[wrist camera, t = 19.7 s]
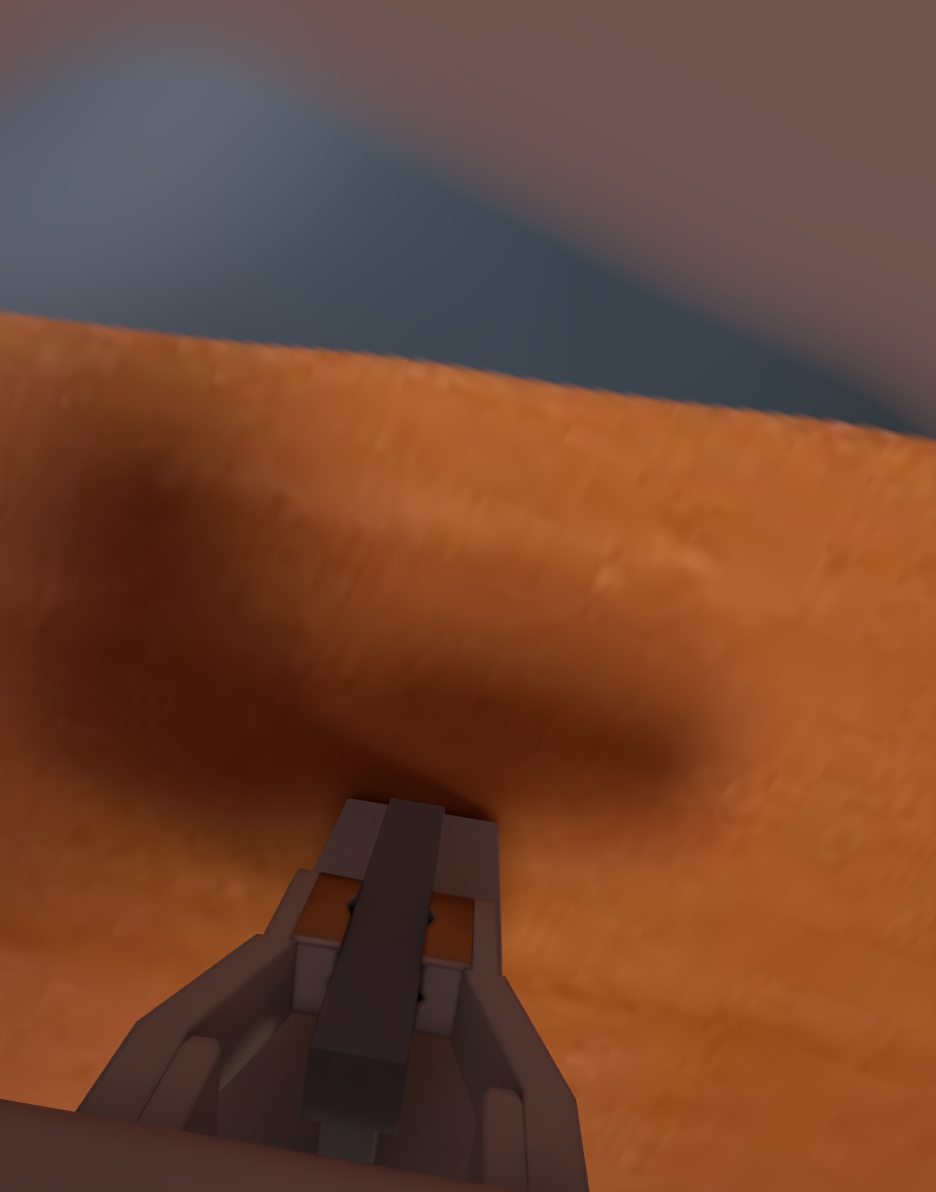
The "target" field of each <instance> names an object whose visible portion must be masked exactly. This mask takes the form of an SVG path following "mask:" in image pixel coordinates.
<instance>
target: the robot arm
mask: <svg viewBox="0 0 936 1192" xmlns="http://www.w3.org/2000/svg"><path fill="white" fill-rule="evenodd" d="M363 882H364V881H363V880H359V879H354V878H349V877H343V876H338V875H333V874H328V873H323V872H322V873H321V872H316V871H311V870H306V869H301V868H300V869H299V870H298V872H297V873H296V874H295V875H294V877H293V879H292V881H291V883H290V885H289V887H288V889H287V891H286V893H285V894H284V896H283V898H282V900H281V902H280V904H279V906H278V908H277V910H276V912H275V914H274V915H273V917H272V919H271V921H270V923H269V925H268V927H267V929H266V931H265V933H264V935H261V934H256V935H255V936H253V937H252V938H250V939H249V940H248V941H246V942H245V943H244V944H242V945H241V946H239V947H238V948H237V949H235V950H234V951H233V952H231V953H230V954H229V955H227V956H226V957H224V958H223V959H222V960H220V961H219V962H218V963H216V964H215V965H214V966H212V967H211V968H209V969H208V970H207V971H205V972H204V973H203V974H201V975H200V976H198V977H197V978H196V979H194V980H193V981H192V982H190V983H189V984H188V985H186V986H185V987H183V988H182V989H181V990H179V991H178V992H177V993H175V994H174V995H173V996H171V997H170V998H168V999H167V1000H166V1001H164V1002H163V1003H162V1004H160V1005H159V1006H158V1007H156V1008H155V1009H153V1010H152V1011H151V1012H149V1013H148V1014H147V1015H145V1016H144V1017H142V1018H141V1019H140V1020H138V1021H137V1022H136V1023H135V1025H134V1026H133V1028H132V1029H131V1031H130V1032H129V1033H128V1035H127V1036H126V1038H125V1039H124V1041H123V1042H122V1044H121V1045H120V1047H119V1048H118V1050H117V1051H116V1053H115V1054H114V1056H113V1057H112V1058H111V1060H110V1061H109V1063H108V1064H107V1066H106V1067H105V1069H104V1070H103V1072H102V1073H101V1075H100V1076H99V1078H98V1079H97V1080H96V1082H95V1083H94V1085H93V1086H92V1088H91V1089H90V1091H89V1092H88V1094H87V1095H86V1097H85V1098H84V1100H83V1101H82V1102H81V1104H80V1105H79V1107H78V1108H77V1110H76V1111H75V1112H73V1111H67V1110H62V1109H56V1108H50V1107H45V1106H39V1105H33V1104H28V1103H22V1102H16V1101H11V1100H5V1099H0V1192H589V1186H588V1179H587V1172H586V1166H585V1159H584V1152H583V1145H582V1138H581V1131H580V1124H579V1117H578V1110H577V1103H576V1099H575V1097H574V1095H573V1093H572V1092H571V1090H570V1088H569V1086H568V1085H567V1083H566V1081H565V1080H564V1078H563V1076H562V1074H561V1073H560V1071H559V1069H558V1067H557V1066H556V1064H555V1062H554V1060H553V1059H552V1057H551V1055H550V1053H549V1052H548V1050H547V1048H546V1046H545V1045H544V1043H543V1041H542V1039H541V1038H540V1036H539V1034H538V1033H537V1031H536V1029H535V1027H534V1026H533V1024H532V1022H531V1020H530V1019H529V1017H528V1015H527V1013H526V1012H525V1010H524V1008H523V1006H522V1005H521V1003H520V1001H519V999H518V998H517V996H516V994H515V992H514V991H513V989H512V987H511V985H510V984H509V982H508V980H507V979H506V977H505V976H502V975H498V934H497V905H496V902H495V901H490V900H484V899H477V898H474V899H473V898H472V897H465V896H459V895H452V894H446V893H439V892H433V891H432V892H431V898H430V904H429V911H428V918H429V923H428V926H427V927H426V932H425V938H424V945H423V952H422V959H421V966H420V970H421V978H420V985H419V992H418V999H417V1006H416V1013H415V1020H414V1026H413V1032H415V1033H419V1034H424V1035H429V1036H434V1037H439V1038H443V1039H448V1040H451V1045H452V1048H453V1051H454V1054H455V1057H456V1060H457V1063H458V1066H459V1068H460V1071H461V1074H462V1077H463V1080H464V1083H465V1086H466V1089H467V1092H468V1094H469V1097H470V1100H471V1103H472V1106H473V1109H474V1112H475V1115H476V1117H477V1120H478V1123H477V1127H476V1132H475V1136H474V1141H473V1145H472V1150H471V1154H470V1159H469V1163H468V1168H467V1172H466V1177H465V1181H463V1180H457V1179H452V1178H446V1177H440V1176H435V1175H429V1174H423V1173H418V1172H412V1171H406V1170H401V1169H395V1168H390V1167H384V1166H378V1165H373V1164H367V1163H361V1162H356V1161H350V1160H345V1159H339V1158H333V1157H328V1156H322V1155H316V1154H311V1153H305V1152H300V1151H294V1150H288V1149H283V1148H277V1147H271V1146H266V1145H260V1144H254V1143H249V1142H243V1141H237V1140H232V1139H226V1138H220V1137H217V1122H218V1099H219V1093H220V1091H221V1090H222V1089H223V1088H224V1087H225V1086H226V1085H227V1084H228V1083H229V1082H230V1081H231V1080H232V1078H233V1077H234V1076H235V1075H236V1074H237V1073H238V1072H239V1071H240V1070H241V1069H242V1068H243V1066H244V1065H245V1064H246V1063H247V1062H248V1061H249V1060H250V1059H251V1058H252V1057H253V1056H254V1055H255V1053H256V1052H257V1051H258V1050H259V1049H260V1048H261V1047H262V1046H263V1045H264V1044H265V1043H266V1041H267V1040H268V1039H269V1038H270V1037H271V1036H272V1035H273V1034H274V1033H275V1032H276V1031H277V1030H278V1028H279V1027H280V1026H281V1025H282V1024H283V1023H284V1022H285V1021H286V1020H287V1019H288V1018H289V1017H290V1012H291V1013H298V1014H305V1015H313V1016H318V1014H319V1011H320V1008H321V1005H322V1002H323V999H324V996H325V993H326V990H327V987H328V984H329V981H330V978H331V975H332V972H333V969H334V966H335V963H336V960H337V957H338V956H339V955H340V952H341V949H342V946H343V943H344V940H345V937H346V934H347V931H348V928H349V925H350V918H351V915H352V912H353V909H354V907H355V905H356V904H357V901H358V898H359V895H360V892H361V889H362V885H363Z"/></svg>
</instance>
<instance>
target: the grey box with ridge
mask: <svg viewBox="0 0 936 1192" xmlns="http://www.w3.org/2000/svg"><path fill="white" fill-rule="evenodd" d="M444 812H445V807H444V806H438V805H432V804H426V803H420V802H414V801H408V800H402V799H396V798H391V799H390V801H389V804H388V805H387V804H381V803H375V802H369V801H363V800H357V799H351V798H349V799H347V801H346V803H345V805H344V807H343V809H342V812H341V814H340V816H339V818H338V820H337V822H336V824H335V826H334V828H333V830H332V833H331V835H330V837H329V839H328V841H327V843H326V845H325V847H324V849H323V851H322V853H321V856H320V858H319V860H318V862H317V864H316V866H315V868H314V870H313V871H316V872H321V873H322V872H323V873H328V874H333V875H338V876H343V877H349V878H354V879H359V880H363V881H364V882H363V885H362V889H361V892H360V895H359V898H358V901H357V904H356V905H355V907H354V909H353V912H352V915H351V918H350V925H349V928H348V931H347V934H346V937H345V940H344V943H343V946H342V949H341V952H340V955H339V956H338V957H337V960H336V963H335V966H334V969H333V972H332V975H331V978H330V981H329V984H328V987H327V990H326V993H325V996H324V999H323V1002H322V1005H321V1008H320V1011H319V1014H318V1016H313V1015H305V1014H298V1013H291V1012H290V1017H289V1018H288V1019H287V1020H286V1021H285V1022H284V1023H283V1024H282V1025H281V1026H280V1027H279V1028H278V1030H277V1031H276V1032H275V1033H274V1034H273V1035H272V1036H271V1037H270V1038H269V1039H268V1040H267V1041H266V1043H265V1044H264V1045H263V1046H262V1047H261V1048H260V1049H259V1050H258V1051H257V1052H256V1053H255V1055H254V1056H253V1057H252V1058H251V1059H250V1060H249V1061H248V1062H247V1063H246V1064H245V1065H244V1066H243V1068H242V1069H241V1070H240V1071H239V1072H238V1073H237V1074H236V1075H235V1076H234V1077H233V1078H232V1080H231V1081H230V1082H229V1083H228V1084H227V1085H226V1086H225V1087H224V1088H223V1089H222V1090H221V1091H220V1093H219V1099H218V1122H217V1137H220V1138H226V1139H232V1140H237V1141H243V1142H249V1143H254V1144H260V1145H266V1146H271V1147H277V1148H283V1149H288V1150H294V1151H300V1152H305V1153H311V1154H316V1155H322V1156H328V1157H333V1158H339V1159H345V1160H350V1161H356V1162H361V1163H367V1164H373V1165H378V1166H384V1167H390V1168H395V1169H401V1170H406V1171H412V1172H418V1173H423V1174H429V1175H435V1176H440V1177H446V1178H452V1179H457V1180H463V1181H465V1177H466V1172H467V1168H468V1163H469V1159H470V1154H471V1150H472V1145H473V1141H474V1136H475V1132H476V1127H477V1123H478V1120H477V1117H476V1115H475V1112H474V1109H473V1106H472V1103H471V1100H470V1097H469V1094H468V1092H467V1089H466V1086H465V1083H464V1080H463V1077H462V1074H461V1071H460V1068H459V1066H458V1063H457V1060H456V1057H455V1054H454V1051H453V1048H452V1045H451V1040H448V1039H443V1038H439V1037H434V1036H429V1035H424V1034H419V1033H415V1032H413V1026H414V1020H415V1013H416V1006H417V999H418V992H419V985H420V978H421V970H420V966H421V959H422V952H423V945H424V938H425V932H426V927H427V926H428V923H429V918H428V911H429V904H430V898H431V892H432V891H433V892H439V893H446V894H452V895H459V896H465V897H472V898H473V899H474V898H477V899H484V900H490V901H495V902H496V905H497V934H498V975H502V976H503V973H502V936H501V900H500V864H499V828H498V823H495V822H489V821H483V820H477V819H471V818H465V817H459V816H453V815H447V814H444Z"/></svg>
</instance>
